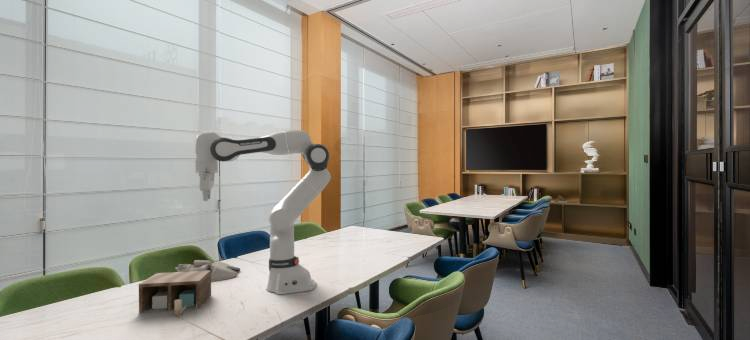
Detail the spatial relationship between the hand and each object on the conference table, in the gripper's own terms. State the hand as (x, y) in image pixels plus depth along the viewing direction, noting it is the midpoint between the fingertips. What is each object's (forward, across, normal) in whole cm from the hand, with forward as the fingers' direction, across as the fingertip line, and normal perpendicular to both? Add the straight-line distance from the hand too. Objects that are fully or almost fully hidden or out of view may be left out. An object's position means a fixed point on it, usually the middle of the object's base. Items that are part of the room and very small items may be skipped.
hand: (206, 200), depth 147 cm
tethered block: (+42, -12, +7) cm, 45 cm away
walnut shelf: (+42, -6, +11) cm, 44 cm away
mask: (+43, +29, +2) cm, 52 cm away
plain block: (+42, -6, +16) cm, 46 cm away
